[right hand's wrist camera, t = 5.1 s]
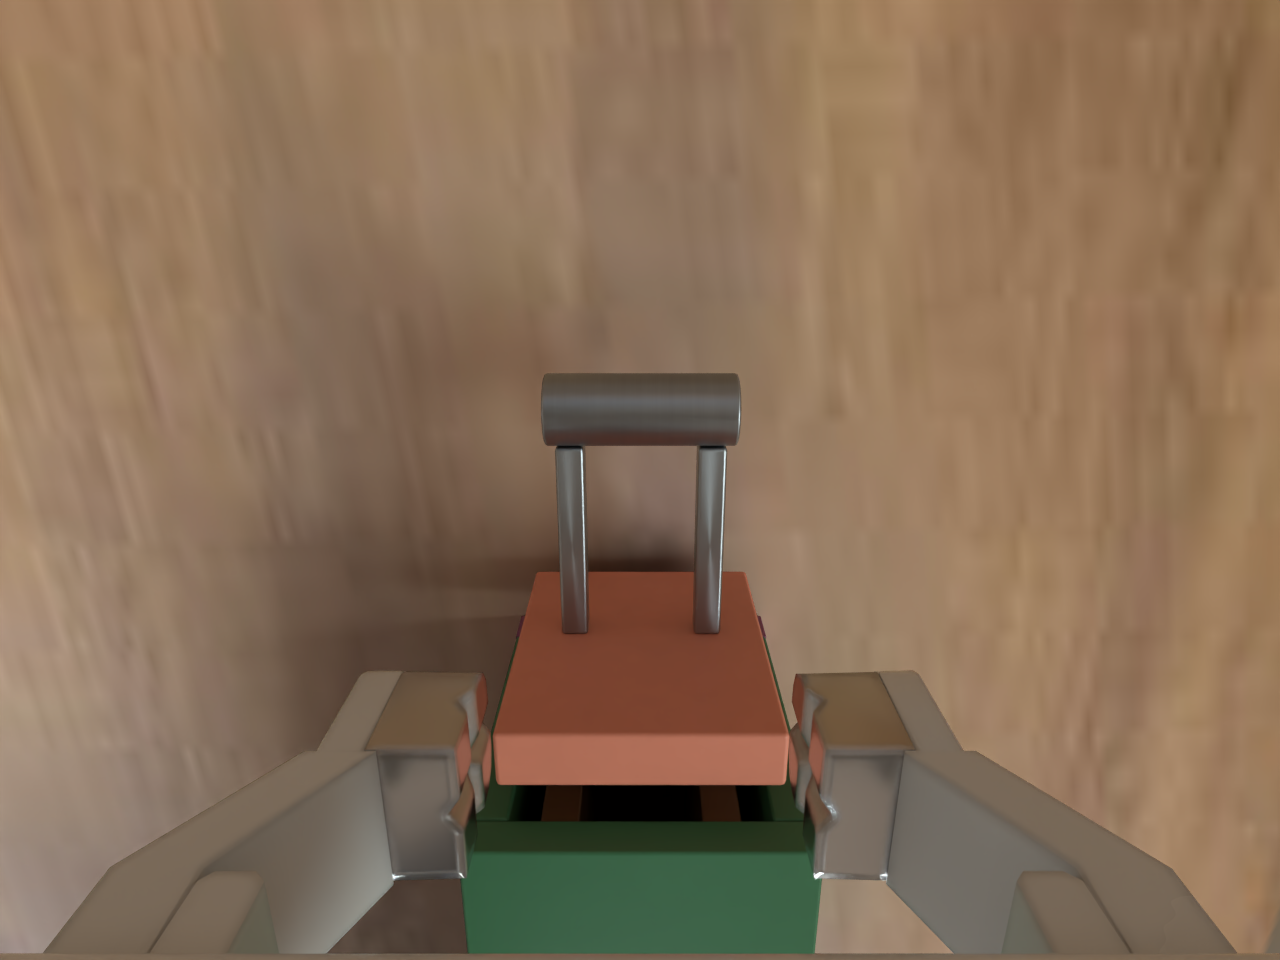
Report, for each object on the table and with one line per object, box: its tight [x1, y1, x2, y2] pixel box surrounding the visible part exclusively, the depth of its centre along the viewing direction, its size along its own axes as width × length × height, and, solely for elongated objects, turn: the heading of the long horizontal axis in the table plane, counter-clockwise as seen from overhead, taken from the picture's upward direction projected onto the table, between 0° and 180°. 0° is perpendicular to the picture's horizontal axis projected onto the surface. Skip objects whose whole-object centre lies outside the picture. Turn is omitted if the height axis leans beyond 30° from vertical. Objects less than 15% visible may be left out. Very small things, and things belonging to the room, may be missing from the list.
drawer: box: [493, 373, 789, 821], centre depth 20 cm, size 24×6×7 cm, turn 0°
